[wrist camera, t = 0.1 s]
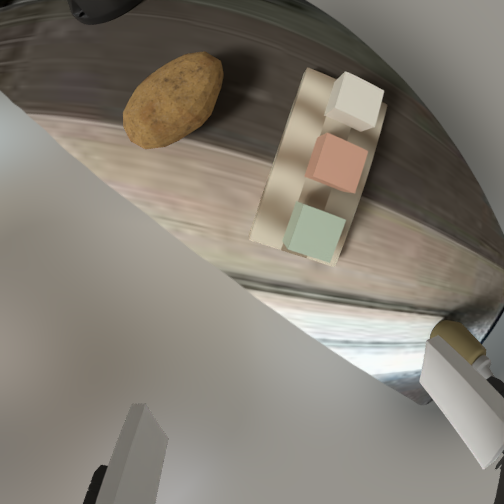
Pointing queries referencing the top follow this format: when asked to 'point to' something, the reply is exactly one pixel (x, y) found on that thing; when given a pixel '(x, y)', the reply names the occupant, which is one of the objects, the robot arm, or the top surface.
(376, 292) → the top surface
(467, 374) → the robot arm
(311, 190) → the board
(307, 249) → the block sage
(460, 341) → the squeeze bottle
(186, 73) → the potato
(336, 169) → the block terracotta
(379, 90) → the block cream
